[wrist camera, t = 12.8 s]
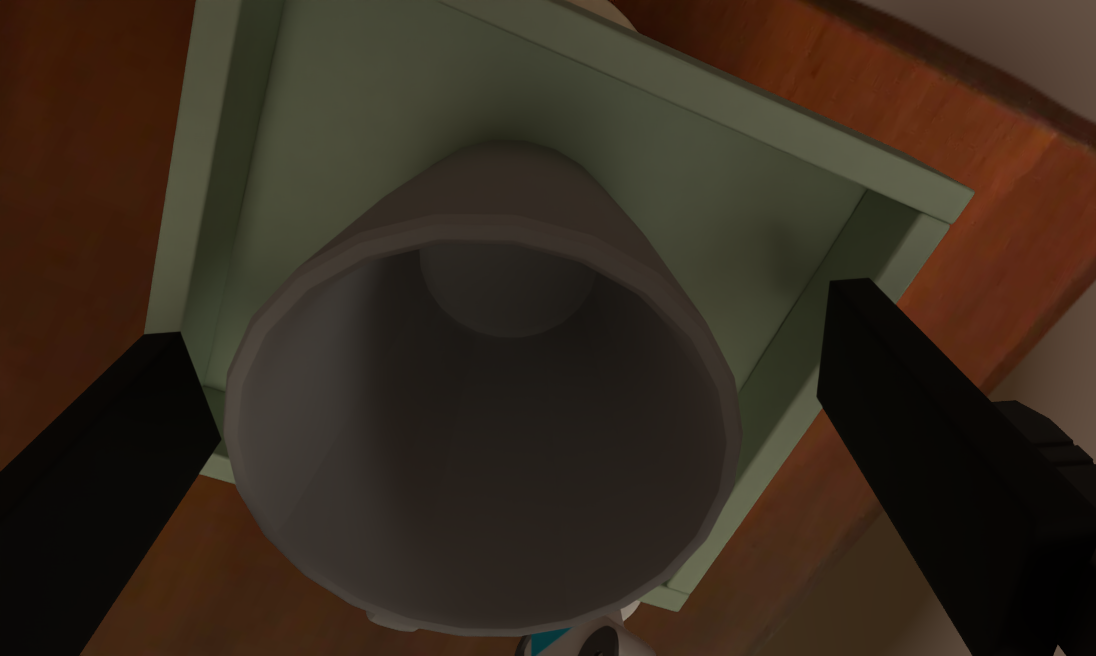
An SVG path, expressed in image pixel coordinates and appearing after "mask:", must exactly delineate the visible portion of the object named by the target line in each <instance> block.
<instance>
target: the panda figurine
mask: <svg viewBox="0 0 1096 656" xmlns="http://www.w3.org/2000/svg"><path fill="white" fill-rule="evenodd" d="M639 603H640V601H637V600H636V601H634V602H633V603H631V604H630V605H628V606H626V607H625V608H622V609H619V610H617V611H614V612H612V613H609V614H606V615H604V616H601V617H598V618H596V619H593V620H590V621H588V622H585V623H583V624H580V625H577V626H575V627H570V628H564V629H559V630H553V631H547V632H541V633H536V634H530V635H524V636H523V637H522V639H521V640H520V642H519V644H518V646H517V649H516V652H515V656H524V651H525V656H656V654H655V652H654V651H653V649H652V648H651V647H650V646H649V645H648V644H647V643H646V642H645V641H644V640H642V639H641V638H639V637H638V636H636V635H634V634H633V633H631V632H630V631H628V630H627V629H625V628H624V623H623V621H624V620H626V619H627V618H628V617H629V616H630V615H631V614H632V613H633V612H634V611H635V609H636V608H637V607H638V605H639Z"/></svg>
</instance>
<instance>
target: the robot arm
mask: <svg viewBox="0 0 1096 656" xmlns="http://www.w3.org/2000/svg"><path fill="white" fill-rule="evenodd" d="M816 397H817V399H818V401H819V402H820V404H821V406H822V407H823V409H824V410H825V412H826V414H827V415H828V417H829V419H830V420H831V422H832V424H833V425H834V427H835V429H836V430H837V432H838V434H839V435H840V437H841V439H842V440H843V442H844V444H845V445H846V447H847V449H848V450H849V452H850V454H851V455H852V457H853V459H854V460H855V462H856V464H857V465H858V467H859V468H860V470H861V472H862V473H863V475H864V477H865V478H866V480H867V482H868V483H869V485H870V487H871V488H872V490H873V492H874V493H875V495H876V497H877V498H878V500H879V502H880V503H881V505H882V507H883V508H884V510H885V512H886V513H887V515H888V516H889V518H890V520H891V522H892V523H893V525H894V526H895V528H896V530H897V531H898V533H899V535H900V536H901V538H902V540H903V541H904V543H905V544H906V546H907V548H908V550H909V551H910V553H911V555H912V556H913V558H914V559H915V561H916V563H917V565H918V566H919V568H920V570H921V571H922V573H923V575H924V576H925V578H926V579H927V581H928V583H929V584H930V586H931V588H932V589H933V591H934V593H935V594H936V596H937V598H938V599H939V601H940V602H941V604H942V606H943V608H944V609H945V611H946V613H947V614H948V616H949V618H950V619H951V621H952V623H953V624H954V626H955V627H956V629H957V631H958V633H959V634H960V636H961V637H962V639H963V641H964V642H965V644H966V646H967V647H968V649H969V651H970V652H971V654H972V656H1053V655H1054V652H1055V650H1056V647H1057V645H1059V646H1060V648H1061V649H1062V650H1063V652H1064V653H1065V654H1066V656H1096V464H1094V463H1093V459H1092V458H1091V457H1090V456H1089V455H1088V454H1087V453H1086V452H1085V451H1084V450H1082V449H1081V448H1080V447H1079V446H1078V445H1076V446H1074V444H1073V440H1072V439H1071V438H1070V437H1068V436H1067V435H1066V434H1065V433H1064V432H1063V431H1062V430H1061V429H1060V428H1059V427H1058V426H1057V425H1056V424H1055V423H1054V422H1052V421H1051V420H1050V419H1049V418H1047V417H1045V416H1044V415H1042V414H1040V413H1038V412H1036V411H1034V410H1032V409H1031V408H1029V407H1027V406H1025V405H1023V404H1021V403H1020V402H1018V401H1016V400H1014V401H1001V402H991V401H990V400H989V399H988V398H987V397H986V396H985V395H984V394H983V393H982V392H981V391H980V390H979V389H978V388H977V387H976V386H975V385H974V384H973V383H972V382H971V381H970V380H969V379H968V378H967V377H966V376H965V375H964V374H963V373H962V372H961V371H960V370H959V369H958V368H957V367H956V366H955V365H954V364H953V362H952V361H951V360H950V359H949V358H948V357H947V356H946V355H945V354H944V353H943V352H942V351H941V350H940V349H939V348H938V347H937V346H936V345H935V344H934V343H933V342H932V341H931V340H930V339H929V338H928V337H927V336H926V335H925V334H924V333H923V332H922V331H921V330H920V329H919V328H918V327H917V326H916V325H915V324H914V323H913V322H912V321H911V320H910V319H909V318H908V317H907V316H906V315H905V314H904V313H903V312H902V311H901V310H900V309H899V308H898V307H897V306H896V304H895V303H894V302H893V301H892V300H891V299H890V298H889V297H888V296H887V295H886V294H885V293H884V292H883V291H882V290H881V289H880V288H879V287H878V286H877V285H876V284H875V283H874V282H873V281H872V280H871V279H870V278H857V279H844V280H831V281H830V282H829V291H828V299H827V308H826V316H825V325H824V334H823V342H822V351H821V359H820V368H819V377H818V385H817V394H816ZM221 440H222V439H221V436H220V433H219V431H218V428H217V425H216V423H215V420H214V418H213V415H212V412H211V410H210V407H209V405H208V402H207V399H206V397H205V394H204V392H203V389H202V386H201V384H200V381H199V378H198V376H197V373H196V371H195V368H194V365H193V363H192V360H191V358H190V355H189V352H188V350H187V347H186V345H185V342H184V339H183V337H182V334H181V331H178V332H165V333H153V334H144V335H143V336H141V337H140V338H139V339H138V340H137V341H136V342H135V343H134V344H133V345H132V346H131V347H130V348H129V349H128V350H127V351H126V352H125V353H124V354H123V355H122V356H121V357H120V358H119V359H118V360H116V361H115V362H114V363H113V364H112V365H111V366H110V367H109V368H108V369H107V370H106V371H105V372H104V373H103V374H102V375H101V376H100V377H99V378H98V379H97V380H96V381H95V382H94V383H92V384H91V385H90V386H89V387H88V388H87V389H86V390H85V391H84V392H83V393H82V394H81V395H80V396H79V397H78V398H77V399H76V400H75V401H74V402H73V403H72V404H71V405H70V406H68V407H67V408H66V409H65V410H64V411H63V412H62V413H61V414H60V415H59V416H58V417H57V418H56V419H55V420H54V421H53V422H52V423H51V424H50V425H49V426H48V427H47V428H46V429H45V430H43V431H42V432H41V433H40V434H39V435H38V436H37V437H36V438H35V439H34V440H33V441H32V442H31V443H30V444H29V445H28V446H27V447H26V448H25V449H24V450H23V451H22V452H21V453H19V454H18V455H17V456H16V457H15V458H14V459H13V460H12V461H11V462H10V463H9V464H8V465H7V466H6V467H5V468H4V469H3V470H2V471H1V472H0V656H79V655H80V653H81V652H82V650H83V649H84V647H85V646H86V644H87V643H88V641H89V640H90V638H91V637H92V635H93V634H94V632H95V631H96V629H97V628H98V626H99V625H100V623H101V622H102V620H103V619H104V617H105V615H106V614H107V612H108V611H109V609H110V608H111V606H112V605H113V603H114V602H115V600H116V599H117V597H118V596H119V594H120V593H121V591H122V590H123V588H124V587H125V585H126V584H127V582H128V581H129V579H130V578H131V576H132V575H133V573H134V572H135V570H136V569H137V567H138V566H139V564H140V562H141V561H142V559H143V558H144V556H145V555H146V553H147V552H148V550H149V549H150V547H151V546H152V544H153V543H154V541H155V540H156V538H157V537H158V535H159V534H160V532H161V531H162V529H163V528H164V526H165V525H166V523H167V522H168V520H169V519H170V517H171V516H172V514H173V513H174V511H175V509H176V508H177V506H178V505H179V503H180V502H181V500H182V499H183V497H184V496H185V494H186V493H187V491H188V490H189V488H190V487H191V485H192V484H193V482H194V481H195V479H196V478H197V476H198V475H199V473H200V472H201V470H202V469H203V467H204V466H205V464H206V463H207V461H208V460H209V458H210V456H211V455H212V453H213V452H214V450H215V449H216V447H217V446H218V444H219V443H220V441H221Z"/></svg>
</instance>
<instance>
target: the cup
mask: <svg viewBox="0 0 1096 656" xmlns="http://www.w3.org/2000/svg"><path fill="white" fill-rule="evenodd" d="M223 435H224V439H225V443H226V447H227V451H228V455H229V459H230V463H231V467H232V471H233V475H234V479H235V483H236V487H237V490H238V492H239V493H240V495H241V497H242V498H243V500H244V502H245V503H246V505H247V507H248V508H249V510H250V512H251V513H252V515H253V517H254V518H255V520H256V522H257V523H258V525H259V527H260V529H261V530H262V532H263V534H264V535H265V536H266V537H267V538H268V539H269V540H270V541H271V542H272V543H273V544H274V545H275V546H276V547H277V548H278V549H279V550H280V551H281V552H282V553H283V554H284V555H285V556H286V557H287V558H288V559H289V560H290V561H291V562H292V563H293V564H294V565H295V566H296V567H297V568H298V569H299V570H300V571H301V572H302V573H303V574H304V575H305V576H307V577H308V578H310V579H311V580H313V581H315V582H316V583H318V584H319V585H321V586H323V587H324V588H326V589H327V590H329V591H330V592H332V593H334V594H335V595H337V596H338V597H340V598H342V599H343V600H345V601H346V602H348V603H350V604H351V605H353V606H356V607H358V608H361V609H364V610H366V615H367V616H368V618H369V620H370V621H372V622H374V623H376V624H378V625H381V626H385V627H389V628H392V629H396V630H399V631H415V630H417V629H418V628H421V629H426V630H432V631H437V632H443V633H448V634H453V635H459V636H524V635H530V634H536V633H541V632H547V631H553V630H559V629H564V628H570V627H575V626H577V625H580V624H583V623H585V622H588V621H590V620H593V619H596V618H598V617H601V616H604V615H606V614H609V613H612V612H614V611H617V610H619V609H622V608H625V607H626V606H628V605H630V604H631V603H633V602H634V601H636V600H637V599H639V598H640V597H642V596H643V595H645V594H647V593H648V592H650V591H651V590H653V589H654V588H656V587H657V586H659V585H660V584H662V583H664V582H665V581H667V580H668V579H670V578H671V577H672V576H673V575H674V574H675V573H676V572H677V571H678V570H679V569H680V567H681V566H682V565H683V564H684V563H685V562H686V561H687V560H688V559H689V558H690V557H691V556H692V555H693V554H694V553H695V552H696V551H697V549H698V548H699V547H700V546H701V545H702V544H703V543H704V542H705V541H706V540H707V538H708V536H709V535H710V533H711V531H712V529H713V527H714V525H715V523H716V521H717V519H718V517H719V515H720V514H721V512H722V510H723V508H724V506H725V504H726V502H727V500H728V498H729V496H730V494H731V492H732V490H733V487H734V482H735V477H736V471H737V466H738V460H739V454H740V449H741V443H742V437H743V429H742V422H741V416H740V409H739V402H738V396H737V389H736V382H735V377H734V375H733V373H732V371H731V369H730V367H729V365H728V363H727V361H726V359H725V357H724V355H723V353H722V351H721V349H720V347H719V346H718V344H717V342H716V340H715V338H714V336H713V334H712V332H711V330H710V328H709V326H708V324H707V322H706V321H705V319H704V318H703V316H702V315H701V314H700V312H699V311H698V309H697V308H696V306H695V305H694V304H693V302H692V301H691V299H690V298H689V297H688V295H687V294H686V292H685V291H684V290H683V288H682V287H681V285H680V284H679V283H678V281H677V280H676V278H675V277H674V275H673V274H672V273H671V271H670V270H669V268H668V267H667V266H666V264H665V263H664V261H663V260H662V259H661V257H660V256H659V254H658V253H657V252H656V250H655V249H654V247H653V246H652V244H651V243H650V242H649V240H648V239H647V237H646V236H645V235H644V233H643V232H642V231H641V230H640V229H639V227H638V226H637V225H636V224H635V223H634V222H633V221H632V220H631V218H630V217H629V216H628V215H627V214H626V213H625V212H624V210H623V209H622V208H621V207H620V206H619V205H618V204H617V203H616V201H615V200H614V199H613V198H612V197H611V196H610V195H609V193H608V192H607V191H606V190H605V189H604V188H603V187H602V186H601V185H600V184H599V183H598V181H597V180H596V179H595V178H594V177H593V176H592V175H591V174H590V173H589V172H588V171H587V170H586V169H585V168H584V167H583V166H582V165H581V164H579V163H577V162H576V161H574V160H572V159H571V158H569V157H567V156H566V155H564V154H562V153H561V152H559V151H557V150H556V149H553V148H549V147H546V146H542V145H539V144H535V143H532V142H528V141H525V140H490V141H486V142H482V143H479V144H475V145H471V146H467V147H463V148H461V149H459V150H457V151H455V152H454V153H452V154H450V155H449V156H447V157H445V158H443V159H442V160H440V161H438V162H436V163H435V164H433V165H432V166H430V167H429V168H427V169H426V170H424V171H423V172H421V173H420V174H418V175H416V176H415V177H413V178H412V179H410V180H409V181H407V182H406V183H404V184H403V185H401V186H400V187H398V188H397V189H395V190H394V191H392V192H390V193H389V194H387V195H386V196H384V197H383V198H382V199H381V200H379V201H378V202H377V203H376V204H374V205H373V206H372V207H371V208H370V209H368V210H367V211H366V212H365V213H364V214H362V215H361V216H360V217H359V218H357V219H356V220H355V221H354V222H353V223H351V224H350V225H349V226H348V227H347V228H345V229H344V230H343V231H342V232H340V233H339V234H338V235H337V236H336V237H334V238H333V239H332V240H331V241H330V242H328V243H327V244H326V245H325V246H323V247H322V248H321V249H320V250H319V251H317V252H316V253H315V254H314V255H313V256H311V257H310V258H309V259H308V260H306V261H305V262H304V263H303V264H302V265H300V266H299V267H298V268H297V269H296V270H295V271H294V272H293V273H292V274H291V275H290V276H289V277H288V278H287V279H286V281H285V282H284V283H283V284H282V285H281V286H280V287H279V288H278V289H277V290H276V291H275V292H274V293H273V294H272V296H271V297H270V298H269V299H268V300H267V301H266V302H265V303H264V304H263V305H262V306H261V307H260V308H259V309H258V311H257V312H256V313H255V314H254V315H253V316H252V317H251V319H250V322H249V324H248V326H247V328H246V331H245V333H244V335H243V337H242V340H241V342H240V344H239V346H238V348H237V351H236V353H235V355H234V357H233V360H232V362H231V364H230V366H229V369H228V371H227V379H226V391H225V403H224V416H223Z"/></svg>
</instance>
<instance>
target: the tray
mask: <svg viewBox="0 0 1096 656" xmlns="http://www.w3.org/2000/svg"><path fill="white" fill-rule="evenodd" d="M490 140H525V141H528V142H532V143H535V144H539V145H542V146H546V147H549V148H553V149H556V150H557V151H559V152H561V153H562V154H564V155H566V156H567V157H569V158H571V159H572V160H574V161H576V162H577V163H579V164H581V165H582V166H583V167H584V168H585V169H586V170H587V171H588V172H589V173H590V174H591V175H592V176H593V177H594V178H595V179H596V180H597V181H598V183H599V184H600V185H601V186H602V187H603V188H604V189H605V190H606V191H607V192H608V193H609V195H610V196H611V197H612V198H613V199H614V200H615V201H616V203H617V204H618V205H619V206H620V207H621V208H622V209H623V210H624V212H625V213H626V214H627V215H628V216H629V217H630V218H631V220H632V221H633V222H634V223H635V224H636V225H637V226H638V227H639V229H640V230H641V231H642V232H643V233H644V235H645V236H646V237H647V239H648V240H649V242H650V243H651V244H652V246H653V247H654V249H655V250H656V252H657V253H658V254H659V256H660V257H661V259H662V260H663V261H664V263H665V264H666V266H667V267H668V268H669V270H670V271H671V273H672V274H673V275H674V277H675V278H676V280H677V281H678V283H679V284H680V285H681V287H682V288H683V290H684V291H685V292H686V294H687V295H688V297H689V298H690V299H691V301H692V302H693V304H694V305H695V306H696V308H697V309H698V311H699V312H700V314H701V315H702V316H703V318H704V319H705V321H706V322H707V324H708V326H709V328H710V330H711V332H712V334H713V336H714V338H715V340H716V342H717V344H718V346H719V347H720V349H721V351H722V353H723V355H724V357H725V359H726V361H727V363H728V365H729V367H730V369H731V371H732V373H733V375H734V377H735V382H736V389H737V396H738V402H739V409H740V416H741V422H742V429H743V437H742V443H741V449H740V454H739V460H738V466H737V471H736V477H735V482H734V487H733V490H732V492H731V494H730V496H729V498H728V500H727V502H726V504H725V506H724V508H723V510H722V512H721V514H720V515H719V517H718V519H717V521H716V523H715V525H714V527H713V529H712V531H711V533H710V535H709V536H708V538H707V540H706V541H705V542H704V543H703V544H702V545H701V546H700V547H699V548H698V549H697V551H696V552H695V553H694V554H693V555H692V556H691V557H690V558H689V559H688V560H687V561H686V562H685V563H684V564H683V565H682V566H681V567H680V569H679V570H678V571H677V572H676V573H675V574H674V575H673V576H672V577H671V578H670V579H668V580H667V581H665V582H664V583H662V584H660V585H659V586H657V587H656V588H654V589H653V590H651V591H650V592H648V593H647V594H645V595H643V596H642V597H640V598H639V599H637V601H641V602H644V603H648V604H651V605H655V606H658V607H661V608H665V609H668V610H672V611H675V612H678V611H679V610H680V608H681V607H682V605H683V604H684V603H685V601H686V600H687V598H688V597H689V593H692V591H693V590H694V588H695V587H696V585H697V584H698V583H699V581H700V580H701V578H702V577H703V576H704V574H705V573H706V571H707V570H708V569H709V567H710V566H711V564H712V563H713V561H714V560H715V559H716V557H717V556H718V554H719V553H720V552H721V550H722V549H723V547H724V546H725V545H726V543H727V542H728V540H729V539H730V537H731V536H732V535H733V533H734V532H735V530H736V529H737V528H738V526H739V525H740V523H741V522H742V521H743V519H744V518H745V516H746V515H747V513H748V512H749V511H750V509H751V508H752V506H753V505H754V504H755V502H756V501H757V499H758V498H759V497H760V495H761V494H762V492H763V491H764V489H765V488H766V487H767V485H768V484H769V482H770V481H771V480H772V478H773V477H774V475H775V474H776V473H777V471H778V470H779V468H780V467H781V465H782V464H783V463H784V461H785V460H786V458H787V457H788V456H789V454H790V453H791V451H792V450H793V449H794V447H795V446H796V444H797V443H798V441H799V440H800V439H801V437H802V436H803V434H804V433H805V432H806V430H807V429H808V427H809V426H810V425H811V423H812V422H813V420H814V419H815V417H816V416H817V415H818V413H819V412H820V410H821V409H822V408H823V407H822V406H821V404H820V402H819V401H818V399H817V397H816V394H817V385H818V377H819V368H820V359H821V351H822V342H823V334H824V325H825V316H826V308H827V299H828V291H829V282H830V281H831V280H844V279H857V278H870V279H871V280H872V281H873V282H874V283H875V284H876V285H877V286H878V287H879V288H880V289H881V290H882V291H883V292H884V293H885V294H886V295H887V296H888V297H889V298H890V299H891V300H892V301H893V302H894V303H895V304H896V303H897V302H898V300H899V299H900V297H901V296H902V295H903V293H904V292H905V290H906V289H907V288H908V286H909V285H910V283H911V282H912V280H913V279H914V278H915V276H916V275H917V273H918V272H919V271H920V269H921V268H922V266H923V265H924V264H925V262H926V261H927V259H928V258H929V256H930V255H931V254H932V252H933V251H934V249H935V248H936V247H937V245H938V244H939V242H940V241H941V240H942V238H943V237H944V235H945V234H946V232H947V231H948V230H949V227H950V226H949V224H953V223H954V222H955V221H956V219H957V218H958V216H959V215H960V214H961V212H962V211H963V209H964V208H965V207H966V205H967V204H968V202H969V201H970V200H971V198H972V197H973V195H974V193H975V192H974V190H972V189H971V188H969V187H967V186H965V185H963V184H961V183H960V182H958V181H956V180H954V179H952V178H950V177H948V176H947V175H945V174H943V173H941V172H939V171H937V170H936V169H934V168H932V167H930V166H928V165H926V164H924V163H923V162H921V161H919V160H917V159H915V158H913V157H912V156H910V155H908V154H906V153H904V152H902V151H900V150H898V149H895V148H893V147H891V146H889V145H886V144H884V143H882V142H880V141H878V140H875V139H873V138H871V137H869V136H866V135H864V134H862V133H860V132H858V131H855V130H853V129H851V128H849V127H846V126H844V125H842V124H840V123H838V122H835V121H833V120H831V119H829V118H826V117H824V116H822V115H820V114H818V113H815V112H813V111H811V110H809V109H806V108H804V107H802V106H800V105H798V104H795V103H793V102H791V101H789V100H786V99H784V98H782V97H780V96H778V95H775V94H773V93H771V92H769V91H766V90H764V89H762V88H760V87H758V86H755V85H753V84H751V83H749V82H746V81H744V80H742V79H740V78H738V77H735V76H733V75H731V74H729V73H726V72H724V71H722V70H720V69H718V68H715V67H713V66H711V65H709V64H706V63H704V62H702V61H700V60H698V59H695V58H693V57H691V56H689V55H686V54H684V53H682V52H680V51H678V50H675V49H673V48H671V47H669V46H666V45H664V44H662V43H660V42H658V41H655V40H653V39H651V38H649V37H646V36H644V35H642V34H640V33H638V32H637V31H636V29H635V28H634V27H633V25H632V24H631V23H630V21H629V20H628V19H627V18H626V17H625V16H624V15H623V14H622V13H621V12H620V11H619V10H618V9H617V8H616V7H615V6H614V5H613V4H612V3H610V2H609V1H608V0H196V4H195V11H194V17H193V23H192V30H191V36H190V43H189V49H188V55H187V62H186V68H185V75H184V81H183V88H182V94H181V100H180V107H179V113H178V120H177V126H176V132H175V139H174V145H173V152H172V158H171V165H170V171H169V177H168V184H167V190H166V197H165V203H164V210H163V216H162V222H161V229H160V235H159V242H158V248H157V254H156V261H155V267H154V274H153V280H152V287H151V293H150V299H149V306H148V312H147V319H146V325H145V331H144V334H153V333H165V332H178V331H181V334H182V337H183V339H184V342H185V345H186V347H187V350H188V352H189V355H190V358H191V360H192V363H193V365H194V368H195V371H196V373H197V376H198V378H199V381H200V384H201V386H202V389H203V392H204V394H205V397H206V399H207V402H208V405H209V407H210V410H211V412H212V415H213V418H214V420H215V423H216V425H217V428H218V431H219V433H220V436H221V439H222V440H221V441H220V443H219V444H218V446H217V447H216V449H215V450H214V452H213V453H212V455H211V456H210V458H209V460H208V461H207V463H206V464H205V466H204V467H203V469H202V470H201V472H200V473H199V474H202V475H206V476H209V477H213V478H216V479H219V480H223V481H226V482H230V483H233V484H236V483H235V479H234V475H233V471H232V467H231V463H230V459H229V455H228V451H227V447H226V443H225V439H224V435H223V416H224V403H225V391H226V379H227V371H228V369H229V366H230V364H231V362H232V360H233V357H234V355H235V353H236V351H237V348H238V346H239V344H240V342H241V340H242V337H243V335H244V333H245V331H246V328H247V326H248V324H249V322H250V319H251V317H252V316H253V315H254V314H255V313H256V312H257V311H258V309H259V308H260V307H261V306H262V305H263V304H264V303H265V302H266V301H267V300H268V299H269V298H270V297H271V296H272V294H273V293H274V292H275V291H276V290H277V289H278V288H279V287H280V286H281V285H282V284H283V283H284V282H285V281H286V279H287V278H288V277H289V276H290V275H291V274H292V273H293V272H294V271H295V270H296V269H297V268H298V267H299V266H300V265H302V264H303V263H304V262H305V261H306V260H308V259H309V258H310V257H311V256H313V255H314V254H315V253H316V252H317V251H319V250H320V249H321V248H322V247H323V246H325V245H326V244H327V243H328V242H330V241H331V240H332V239H333V238H334V237H336V236H337V235H338V234H339V233H340V232H342V231H343V230H344V229H345V228H347V227H348V226H349V225H350V224H351V223H353V222H354V221H355V220H356V219H357V218H359V217H360V216H361V215H362V214H364V213H365V212H366V211H367V210H368V209H370V208H371V207H372V206H373V205H374V204H376V203H377V202H378V201H379V200H381V199H382V198H383V197H384V196H386V195H387V194H389V193H390V192H392V191H394V190H395V189H397V188H398V187H400V186H401V185H403V184H404V183H406V182H407V181H409V180H410V179H412V178H413V177H415V176H416V175H418V174H420V173H421V172H423V171H424V170H426V169H427V168H429V167H430V166H432V165H433V164H435V163H436V162H438V161H440V160H442V159H443V158H445V157H447V156H449V155H450V154H452V153H454V152H455V151H457V150H459V149H461V148H463V147H467V146H471V145H475V144H479V143H482V142H486V141H490Z"/></svg>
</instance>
